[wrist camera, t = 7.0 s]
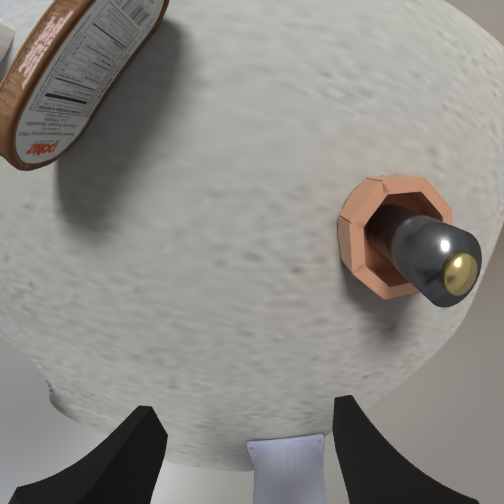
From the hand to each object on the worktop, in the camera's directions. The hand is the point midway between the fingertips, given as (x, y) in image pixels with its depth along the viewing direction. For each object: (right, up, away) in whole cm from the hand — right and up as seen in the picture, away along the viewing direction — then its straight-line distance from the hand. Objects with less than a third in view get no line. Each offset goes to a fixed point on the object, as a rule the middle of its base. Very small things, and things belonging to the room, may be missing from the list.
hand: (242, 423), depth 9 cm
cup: (+9, +8, +8) cm, 15 cm away
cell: (+9, +8, +7) cm, 14 cm away
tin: (-10, +19, +6) cm, 22 cm away
